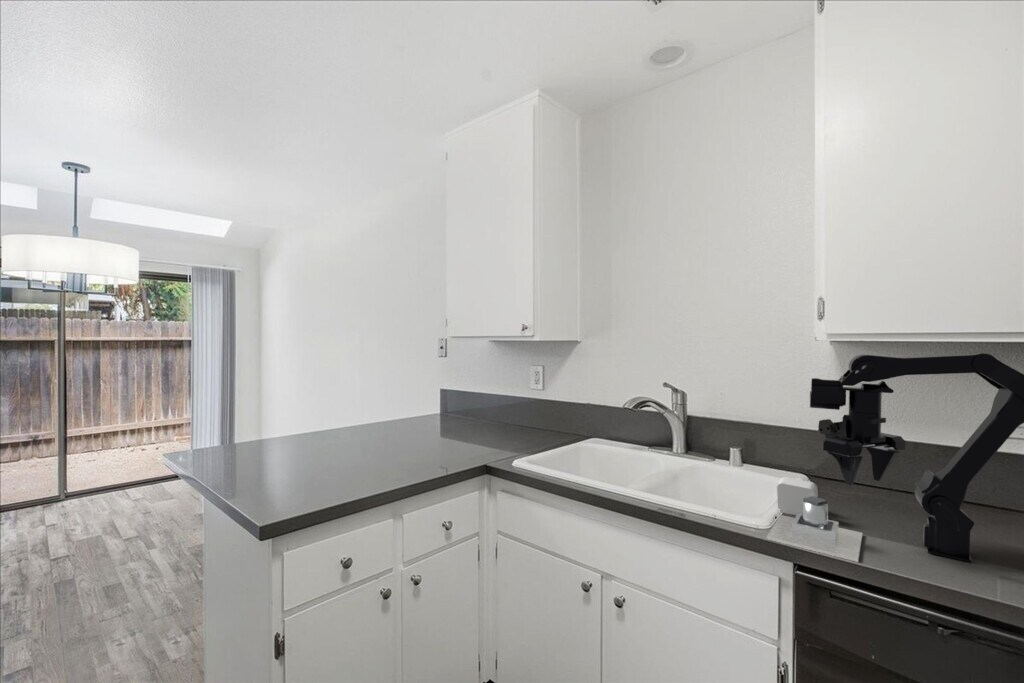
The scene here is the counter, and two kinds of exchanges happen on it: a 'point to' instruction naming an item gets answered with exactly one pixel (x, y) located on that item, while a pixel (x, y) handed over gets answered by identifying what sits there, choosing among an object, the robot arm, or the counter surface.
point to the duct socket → (817, 537)
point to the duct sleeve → (815, 512)
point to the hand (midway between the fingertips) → (863, 482)
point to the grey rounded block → (794, 494)
